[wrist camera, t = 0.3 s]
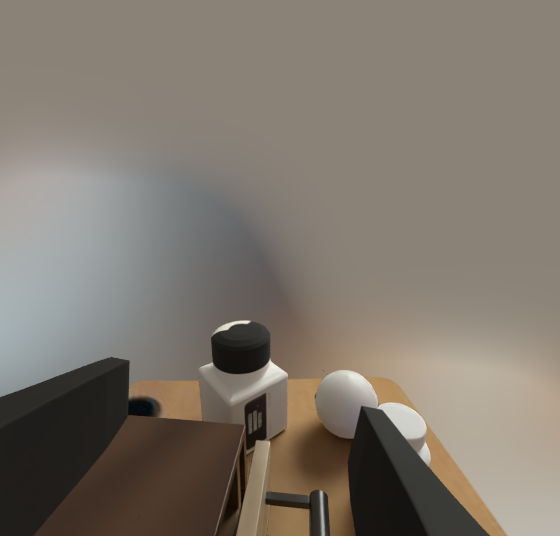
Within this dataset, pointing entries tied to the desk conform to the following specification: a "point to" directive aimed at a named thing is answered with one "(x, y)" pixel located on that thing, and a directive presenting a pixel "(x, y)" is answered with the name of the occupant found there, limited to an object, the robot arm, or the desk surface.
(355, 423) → the white ball
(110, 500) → the cabinet
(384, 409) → the pill bottle
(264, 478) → the drawer
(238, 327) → the container
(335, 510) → the desk surface
